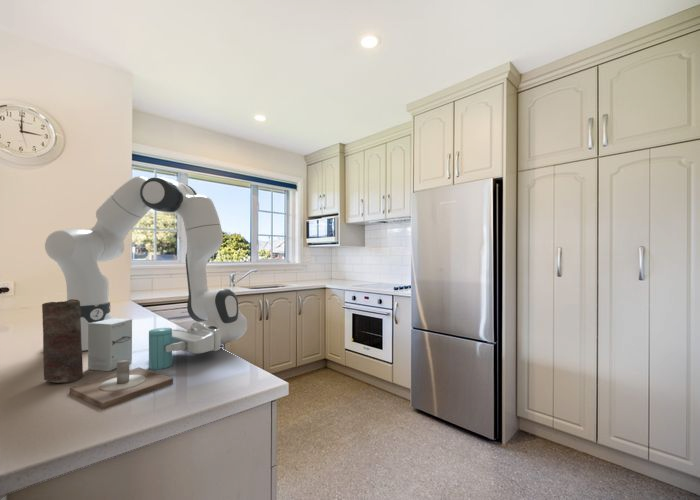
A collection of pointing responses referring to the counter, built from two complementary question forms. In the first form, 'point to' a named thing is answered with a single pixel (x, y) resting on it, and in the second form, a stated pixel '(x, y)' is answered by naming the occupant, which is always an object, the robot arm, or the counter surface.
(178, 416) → the counter surface
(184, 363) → the counter surface
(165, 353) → the teal lidded canister
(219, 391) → the counter surface
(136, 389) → the mount plate
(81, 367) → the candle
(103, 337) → the supplement box
